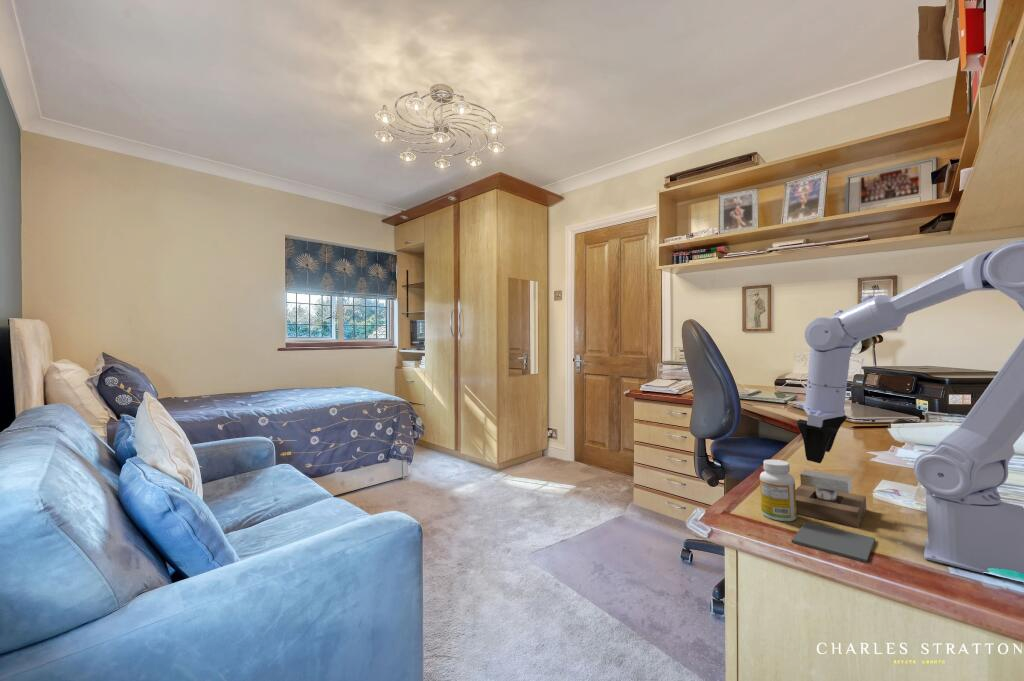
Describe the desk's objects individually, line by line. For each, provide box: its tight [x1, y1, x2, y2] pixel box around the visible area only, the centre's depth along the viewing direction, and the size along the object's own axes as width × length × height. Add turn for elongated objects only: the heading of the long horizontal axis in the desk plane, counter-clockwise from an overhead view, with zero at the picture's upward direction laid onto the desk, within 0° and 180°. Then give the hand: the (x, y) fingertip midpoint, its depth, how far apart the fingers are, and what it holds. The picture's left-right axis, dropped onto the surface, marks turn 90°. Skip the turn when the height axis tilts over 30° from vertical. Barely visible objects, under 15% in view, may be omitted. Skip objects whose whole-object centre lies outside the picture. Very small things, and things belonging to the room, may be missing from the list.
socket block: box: [795, 484, 867, 528], centre depth 76 cm, size 10×10×2 cm
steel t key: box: [799, 469, 853, 503], centre depth 76 cm, size 7×4×6 cm, turn 43°
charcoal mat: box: [791, 521, 876, 563], centre depth 64 cm, size 9×9×1 cm
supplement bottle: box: [759, 459, 798, 522], centre depth 74 cm, size 5×5×10 cm
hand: (818, 455), depth 76 cm, fingers open, 7 cm apart
